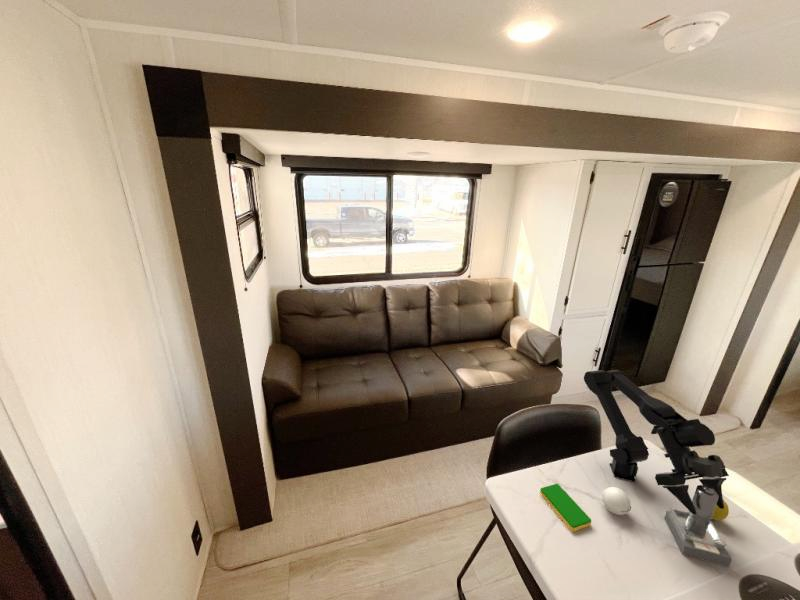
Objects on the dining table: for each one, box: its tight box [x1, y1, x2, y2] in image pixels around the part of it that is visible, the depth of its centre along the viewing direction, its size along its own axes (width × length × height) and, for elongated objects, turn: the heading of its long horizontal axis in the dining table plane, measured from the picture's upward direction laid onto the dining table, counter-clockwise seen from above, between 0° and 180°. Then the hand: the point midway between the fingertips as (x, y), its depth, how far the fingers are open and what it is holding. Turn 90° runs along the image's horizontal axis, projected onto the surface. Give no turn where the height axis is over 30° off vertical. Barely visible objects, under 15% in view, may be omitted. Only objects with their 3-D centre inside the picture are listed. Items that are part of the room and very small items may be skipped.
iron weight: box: [685, 484, 719, 536], centre depth 87 cm, size 4×4×14 cm
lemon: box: [711, 499, 730, 521], centre depth 95 cm, size 6×6×8 cm
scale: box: [663, 507, 733, 568], centre depth 89 cm, size 10×11×5 cm
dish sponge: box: [539, 483, 592, 533], centre depth 99 cm, size 7×14×2 cm, turn 16°
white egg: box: [601, 486, 632, 516], centre depth 98 cm, size 10×7×7 cm
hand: (708, 511), depth 86 cm, fingers open, 9 cm apart
